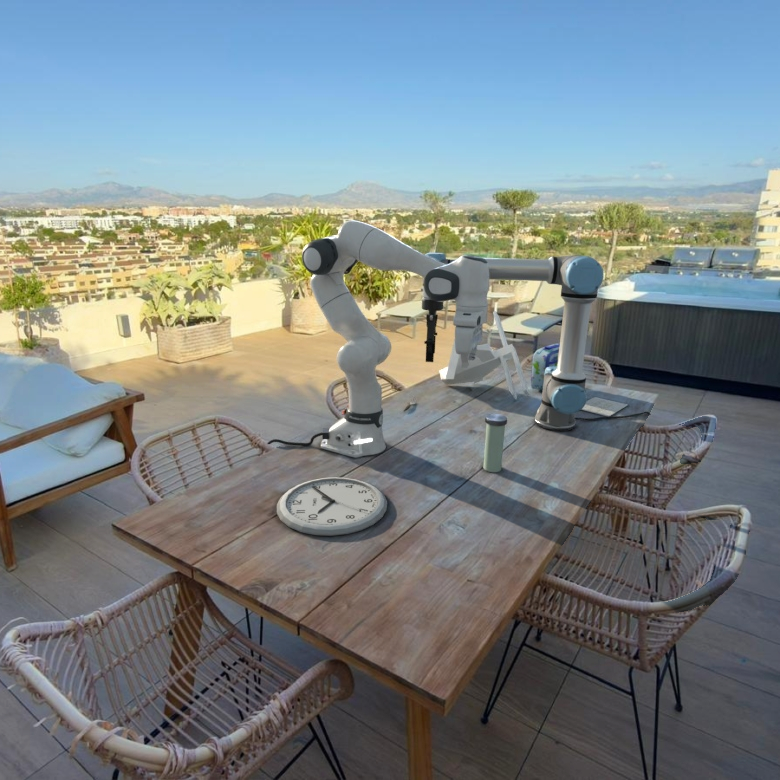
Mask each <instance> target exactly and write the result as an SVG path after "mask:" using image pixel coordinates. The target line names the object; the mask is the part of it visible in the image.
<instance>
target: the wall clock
mask: <svg viewBox="0 0 780 780" xmlns="http://www.w3.org/2000/svg"><path fill="white" fill-rule="evenodd" d="M387 509H388V500H387V498H386V496H385V494H384V493H383V492H382V491H381V490H380V489H379V488H377V487H376V486H374V485H372V484H371V483H369V482H365V481H362V480H359V479H355V478H349V477H338V476H337V477H335V476H333V477H332V476H331V477H322V478H317V479H312V480H307V481H305V482H302V483H299V484H297V485H295V486H293V487H292V488H290V489H288V490H287V491H286V492H285V493H284V494H283V495H281V496H280V498H279V499H278V502H277V503H276V515H277V517H278V518H279V520H280V521H281V522H282V523H283V524H285V525H286V526H287V527H288V528H290V529H293V530H295V531H297V532H299V533H303V534H308V535H312V536H327V537H328V536H329V537H331V536H332V537H333V536H342V535H350V534H352V533H356V532H361V531H363V530H366V529H368V528H369V527H372V526H373V525H375V524H376V523H378V522H379V521H380V520H381V519H382V518H383V517H384V516H385V514H386V512H387Z"/></svg>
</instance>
